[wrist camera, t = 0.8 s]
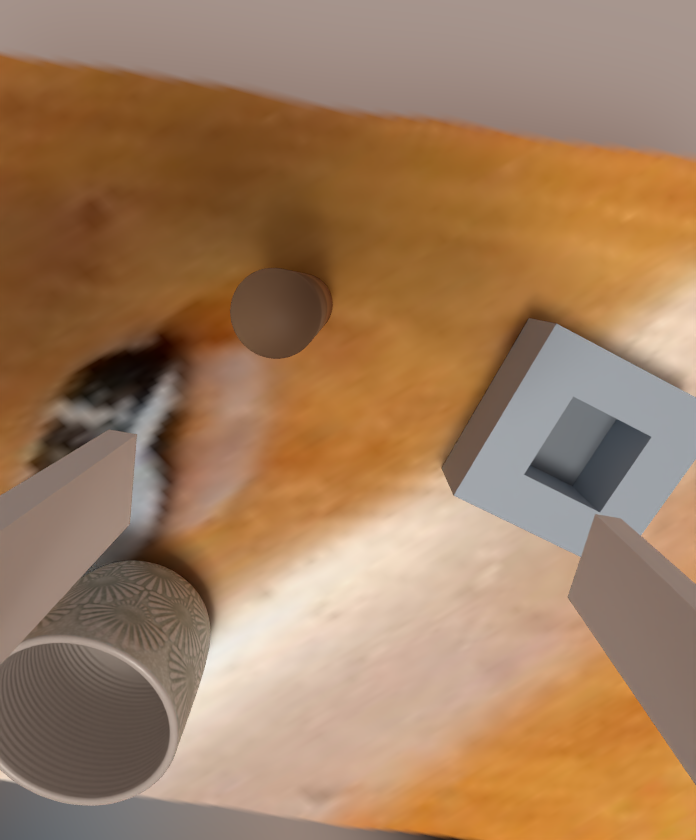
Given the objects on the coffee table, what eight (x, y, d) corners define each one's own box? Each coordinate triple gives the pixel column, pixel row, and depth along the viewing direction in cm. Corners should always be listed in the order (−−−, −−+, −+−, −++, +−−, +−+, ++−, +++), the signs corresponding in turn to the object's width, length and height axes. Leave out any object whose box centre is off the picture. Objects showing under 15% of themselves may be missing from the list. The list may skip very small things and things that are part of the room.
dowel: (263, 317, 35) (216, 334, 24) (288, 262, 34) (252, 251, 23) (316, 344, 36) (296, 373, 24) (342, 290, 35) (334, 293, 23)
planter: (166, 516, 39) (95, 601, 29) (253, 639, 42) (217, 760, 31) (37, 585, 41) (-75, 691, 30) (129, 700, 43) (55, 834, 33)
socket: (441, 468, 38) (453, 495, 33) (529, 318, 35) (556, 323, 30) (582, 536, 39) (613, 572, 34) (677, 396, 36) (727, 414, 31)
